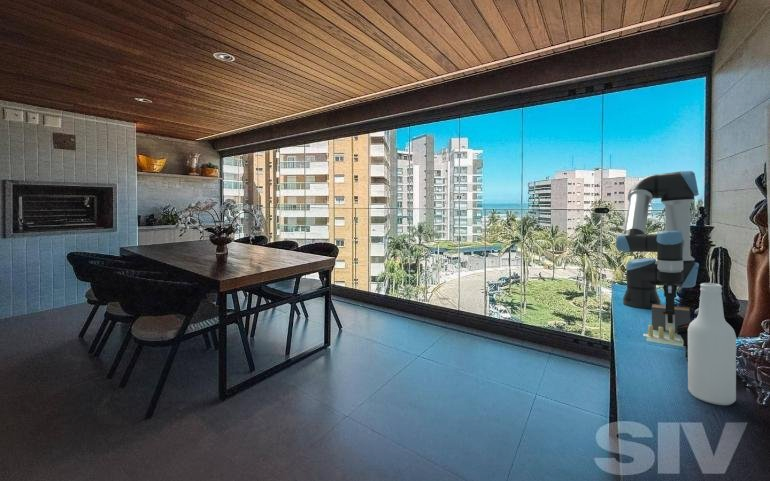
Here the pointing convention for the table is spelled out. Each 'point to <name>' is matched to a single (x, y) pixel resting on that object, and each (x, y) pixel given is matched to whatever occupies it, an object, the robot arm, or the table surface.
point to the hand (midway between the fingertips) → (670, 326)
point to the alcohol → (712, 350)
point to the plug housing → (659, 318)
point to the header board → (664, 336)
